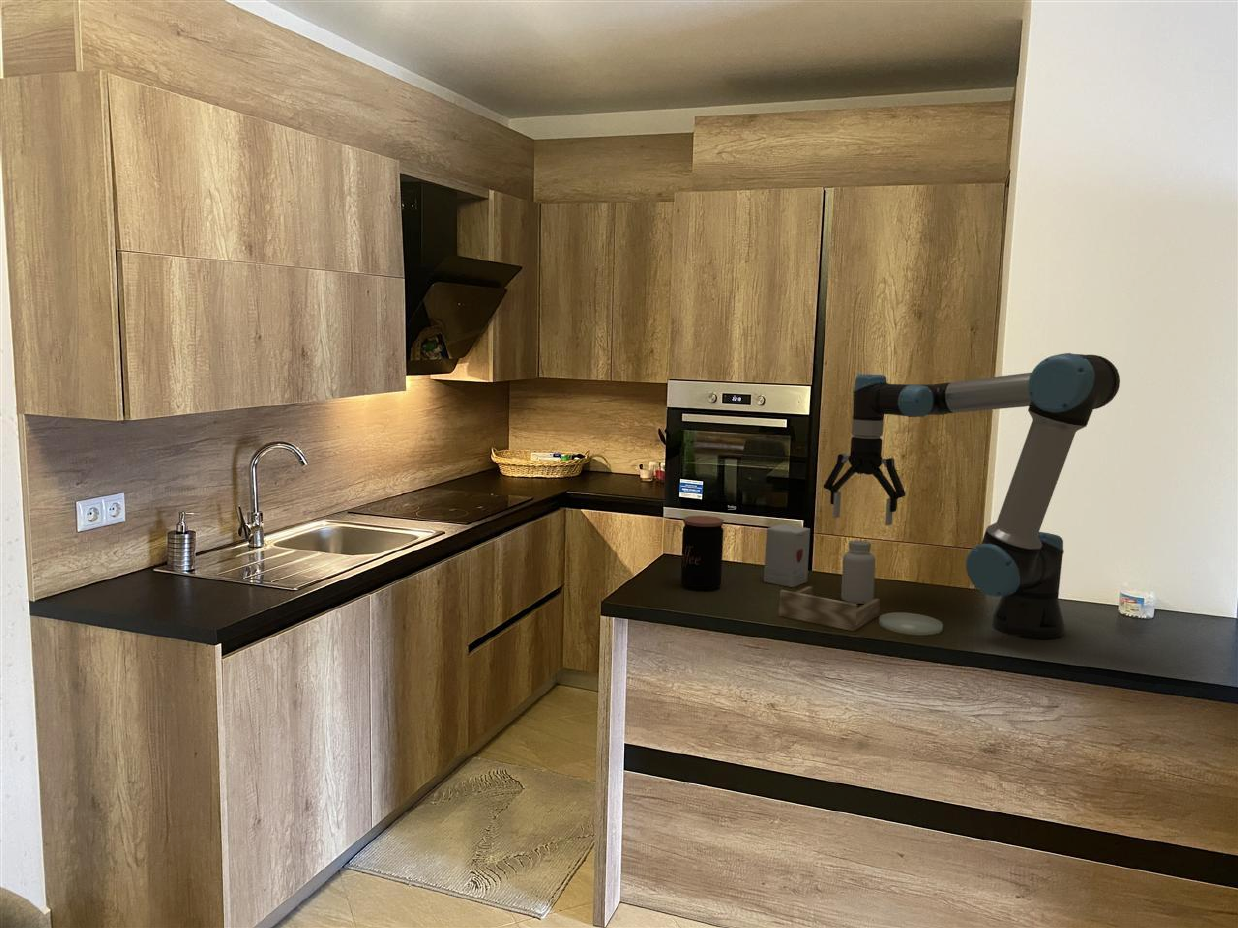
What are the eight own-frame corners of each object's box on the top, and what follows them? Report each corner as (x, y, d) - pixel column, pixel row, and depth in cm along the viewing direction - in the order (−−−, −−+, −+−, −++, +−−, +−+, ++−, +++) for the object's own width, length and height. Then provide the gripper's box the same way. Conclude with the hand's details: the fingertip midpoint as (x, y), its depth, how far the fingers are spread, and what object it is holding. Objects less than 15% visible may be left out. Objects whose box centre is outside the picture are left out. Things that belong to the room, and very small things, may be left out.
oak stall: (878, 615, 220) (880, 591, 219) (853, 631, 207) (855, 605, 206) (807, 601, 231) (808, 578, 230) (778, 615, 218) (780, 590, 217)
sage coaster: (950, 625, 214) (950, 620, 214) (931, 639, 203) (932, 634, 203) (891, 613, 222) (891, 608, 222) (870, 626, 211) (870, 621, 211)
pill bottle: (845, 594, 239) (849, 537, 237) (876, 599, 234) (880, 542, 233) (836, 601, 232) (839, 543, 230) (868, 606, 228) (871, 547, 226)
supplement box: (793, 588, 244) (796, 532, 242) (763, 582, 249) (765, 527, 247) (808, 581, 251) (811, 527, 249) (778, 576, 256) (781, 523, 254)
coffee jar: (674, 582, 246) (677, 516, 244) (711, 580, 249) (714, 515, 247) (689, 592, 236) (692, 523, 233) (727, 590, 239) (730, 522, 237)
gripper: (922, 439, 224) (916, 525, 227) (825, 432, 238) (821, 512, 241) (912, 441, 218) (906, 529, 220) (813, 434, 232) (809, 516, 235)
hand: (861, 521), depth 231 cm, fingers open, 13 cm apart
